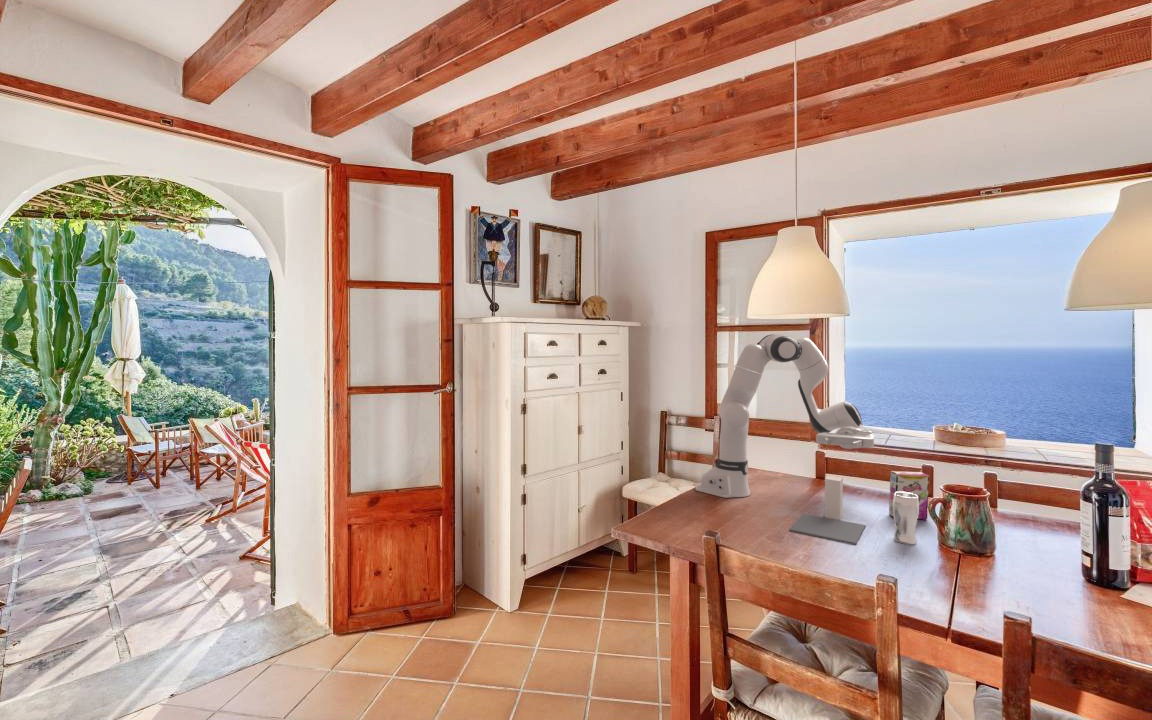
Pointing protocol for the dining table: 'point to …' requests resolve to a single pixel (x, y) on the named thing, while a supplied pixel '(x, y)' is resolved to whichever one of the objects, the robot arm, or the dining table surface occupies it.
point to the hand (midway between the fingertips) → (840, 443)
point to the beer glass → (905, 517)
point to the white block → (833, 497)
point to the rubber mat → (828, 528)
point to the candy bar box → (910, 489)
